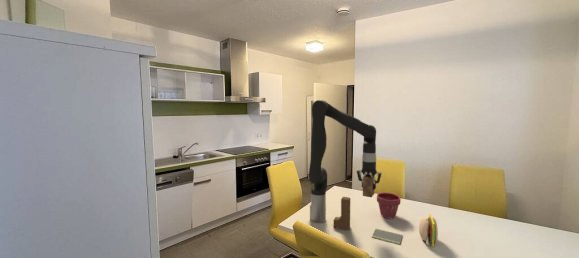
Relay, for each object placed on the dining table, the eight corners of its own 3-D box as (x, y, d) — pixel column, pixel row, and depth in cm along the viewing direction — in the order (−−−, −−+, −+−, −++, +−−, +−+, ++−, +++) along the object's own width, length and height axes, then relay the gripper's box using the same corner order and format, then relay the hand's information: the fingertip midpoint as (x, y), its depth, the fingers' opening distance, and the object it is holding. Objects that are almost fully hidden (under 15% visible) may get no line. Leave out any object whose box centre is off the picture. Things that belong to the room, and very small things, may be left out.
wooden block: (333, 227, 143) (333, 197, 141) (335, 223, 147) (335, 195, 145) (348, 230, 139) (348, 200, 137) (350, 226, 143) (350, 197, 141)
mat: (371, 237, 131) (371, 236, 131) (375, 229, 139) (375, 228, 139) (400, 244, 123) (400, 243, 123) (402, 235, 132) (402, 234, 132)
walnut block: (362, 195, 138) (362, 177, 137) (365, 192, 144) (365, 174, 143) (371, 197, 135) (371, 178, 134) (374, 193, 141) (374, 175, 140)
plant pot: (395, 210, 164) (396, 192, 162) (403, 220, 150) (404, 200, 148) (374, 210, 165) (374, 192, 164) (379, 219, 151) (380, 200, 150)
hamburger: (417, 233, 135) (418, 212, 134) (434, 235, 131) (435, 214, 130) (420, 244, 124) (420, 221, 122) (439, 247, 120) (439, 224, 119)
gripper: (354, 160, 138) (354, 188, 140) (381, 162, 131) (380, 193, 132) (358, 157, 145) (358, 185, 146) (383, 160, 137) (383, 189, 139)
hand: (368, 188), depth 139 cm, fingers closed on walnut block, 5 cm apart
